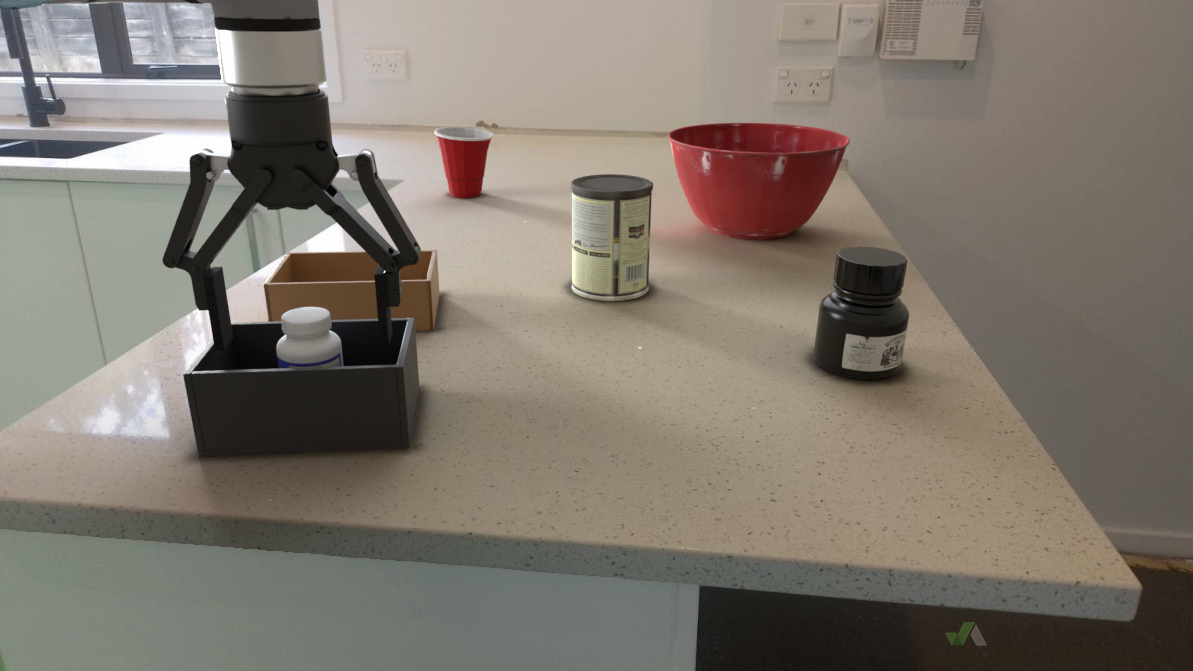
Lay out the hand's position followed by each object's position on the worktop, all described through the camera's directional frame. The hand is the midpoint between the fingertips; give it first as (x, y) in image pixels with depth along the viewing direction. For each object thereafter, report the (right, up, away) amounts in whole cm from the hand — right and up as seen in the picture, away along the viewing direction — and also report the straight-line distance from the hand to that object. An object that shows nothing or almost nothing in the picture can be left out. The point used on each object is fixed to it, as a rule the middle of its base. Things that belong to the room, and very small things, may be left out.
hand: (306, 342), depth 73 cm
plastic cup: (+1, +27, +86) cm, 90 cm away
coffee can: (+27, +7, +38) cm, 47 cm away
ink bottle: (+53, -3, +16) cm, 55 cm away
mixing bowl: (+50, +18, +66) cm, 85 cm away
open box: (0, -7, +3) cm, 8 cm away
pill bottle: (0, -7, +3) cm, 7 cm away
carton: (-3, +3, +28) cm, 28 cm away
